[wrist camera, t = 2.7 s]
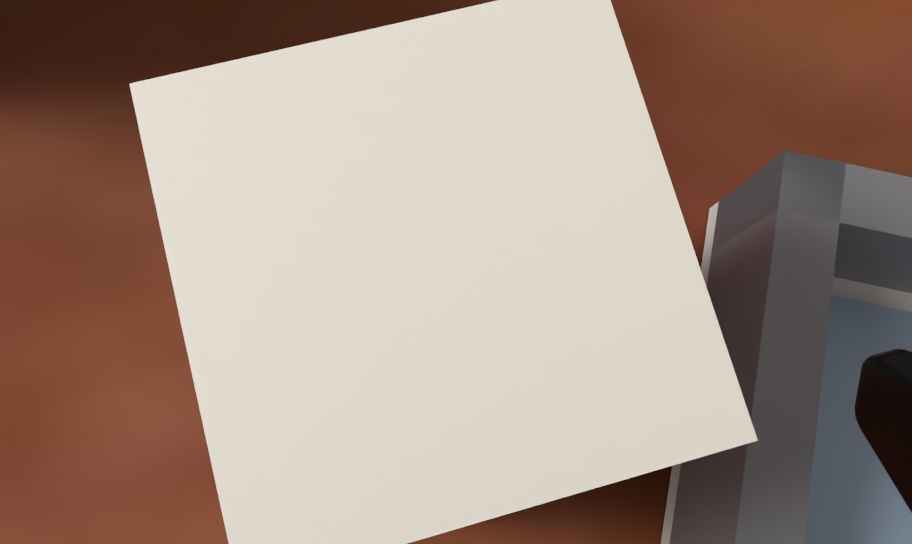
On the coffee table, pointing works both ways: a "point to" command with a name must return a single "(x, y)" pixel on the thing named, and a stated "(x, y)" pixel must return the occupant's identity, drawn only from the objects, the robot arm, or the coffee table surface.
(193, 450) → the coffee table surface
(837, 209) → the arena
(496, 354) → the block
